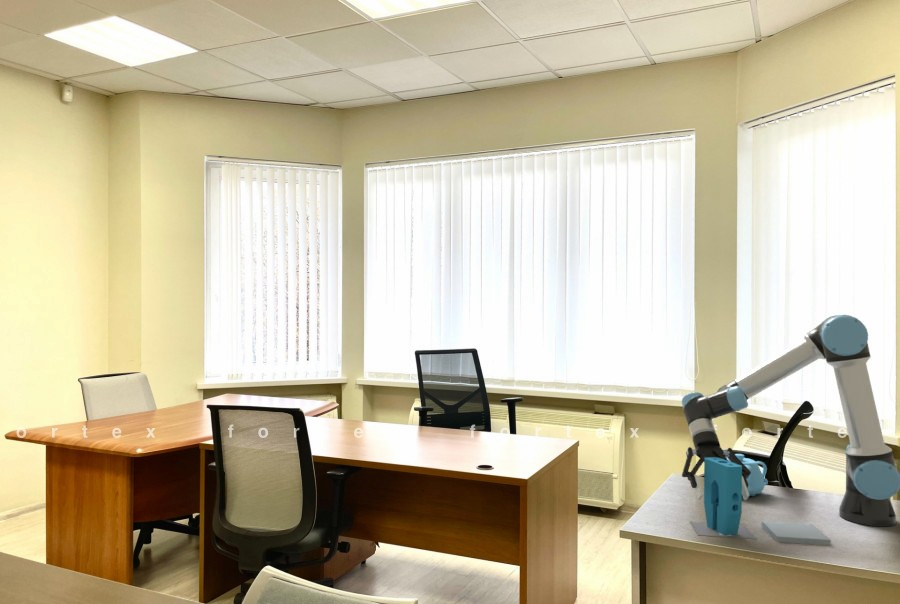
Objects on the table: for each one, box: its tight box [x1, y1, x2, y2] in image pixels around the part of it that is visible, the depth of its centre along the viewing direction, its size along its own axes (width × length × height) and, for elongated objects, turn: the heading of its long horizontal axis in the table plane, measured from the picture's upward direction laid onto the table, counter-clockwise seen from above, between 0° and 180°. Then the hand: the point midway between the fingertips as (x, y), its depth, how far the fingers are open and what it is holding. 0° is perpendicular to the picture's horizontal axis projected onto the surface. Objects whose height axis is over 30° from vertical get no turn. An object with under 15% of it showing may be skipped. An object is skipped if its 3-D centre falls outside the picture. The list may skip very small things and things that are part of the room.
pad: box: [761, 520, 832, 546], centre depth 192 cm, size 14×14×2 cm
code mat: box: [689, 521, 757, 540], centre depth 195 cm, size 16×12×1 cm
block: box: [703, 457, 743, 535], centre depth 195 cm, size 12×5×20 cm, turn 13°
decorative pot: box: [725, 453, 769, 497], centre depth 237 cm, size 16×16×14 cm
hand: (723, 497), depth 195 cm, fingers open, 13 cm apart
